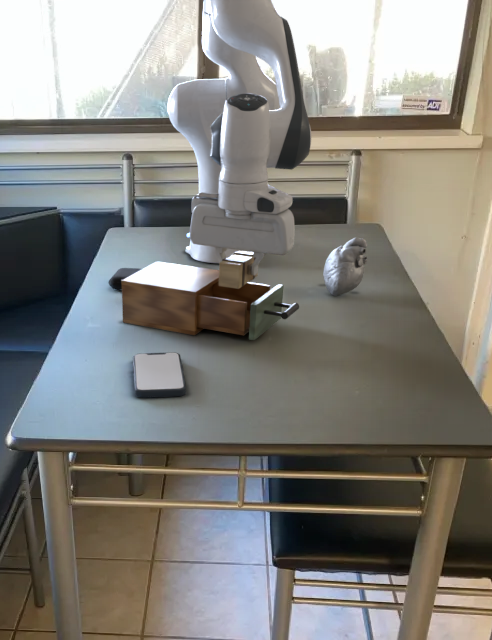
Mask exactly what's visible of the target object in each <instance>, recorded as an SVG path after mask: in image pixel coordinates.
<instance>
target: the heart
mask: <svg viewBox="0 0 492 640" xmlns="http://www.w3.org/2000/svg"><path fill="white" fill-rule="evenodd" d="M367 248H368V242H367V240H366V239H365V238H359V237H353V238H352V239H350V240H348V241H346V242H345V243H344V245H340V246H338V247H337V248H334V249H333V250H332V251H331V252H330V253H329V255H328V256H327V258H326V260H325V264H324V267H323V273H322V274H323V280H324V284H325V287H326V289H327V291H328V293H330V294H331V295H332V296H336V297H337V296H341V295H344V294H347V293H349V292H351V291H354V289H355V290H356V288H357V287H359V285H360V283H361V282H362V281H363V279H364V274H365V266H364V265H366V264H367V262H368V256H366V254H367V250H366V249H367Z"/></svg>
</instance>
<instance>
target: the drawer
mask: <svg viewBox="0 0 492 640" xmlns="http://www.w3.org/2000/svg"><path fill="white" fill-rule="evenodd" d="M283 297H284V284H280V283H279V284H276V285H275V286H274V287H273V288H271V284H270V285H269V284H265V283H258V282H257V283H256V282H251V281H249V282H248V283H246V284H245V285H244V286H243V287H241V288H239V289H236V288H229V287H223V286H219V281H218V282H217V283H215V284H213V285H212V286H210V287H209V288H207V289H206V290H204V291H203V292H201V293H199V294H198V295H197V327H199V328H204V329H206V330H211V331H217V332H223V333H228V334H234V335H238V336H239V335H240V336H245V335H247V334H248V340H251V341H255V340H257V339H258V338H259V337H260V336H262V335H263V334H264V333H265V332H266V331H267V330H269V329H270V328H271V327H273V326H274V325H275V324H276V323H277V322H279V321H280V320H281V319H282V320H288V318H290V317H291V316H292V315H293V314H294V313H295V312H297V311H298V310H299V309H300V304H299V303H298V302H294V303H292V304H290V303H285V302H283ZM282 308H285V310H284V311H283V309H282ZM282 311H283V312H282ZM204 329H203V330H204Z"/></svg>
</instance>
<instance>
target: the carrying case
mask: <svg viewBox="0 0 492 640" xmlns="http://www.w3.org/2000/svg"><path fill="white" fill-rule="evenodd" d="M142 269H143V268H139V267H138V268H137V267H121V268H119V269H117V271H116V272H115V273H114V274H113V275H112V276H111V278H110V279H109V280H108V285H109V286H110V287H111V288H112V289H113V290H115V291H122V283H121V281H122V280H123V279H125V278H127V277H129V276H131V275H133V274H135V273H136V272H138V271H140V270H142Z"/></svg>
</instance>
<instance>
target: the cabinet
mask: <svg viewBox="0 0 492 640" xmlns="http://www.w3.org/2000/svg"><path fill="white" fill-rule="evenodd" d="M141 269H142V270H140V271H138V272H136V273H135V274H133V275H131V276H129V277H127V278H125V279H123V280H122V281H121V283H122V290H121V304H122V308H121V309H122V323H124V324H130V325H136V326H141V327H145V328H153V329H157V330H163V331H168V332H174V333H180V334H185V335H190V336H196V335H197V334H199V333H200V332H202V331H203V330H204V328H199V327H197V295H198V294H199V293H201V292H203V291H204V290H206V289H207V288H209V287H210V286H212V285H213V284H215V283H217V282H218V281H219V269H214V268H207V267H199V266H193V265H185V264H179V263H178V264H177V263H171V262H164V261H157V260H156V261H155V262H153V263H151V264H149V265H147V266H146V267H144V268H141Z"/></svg>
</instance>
